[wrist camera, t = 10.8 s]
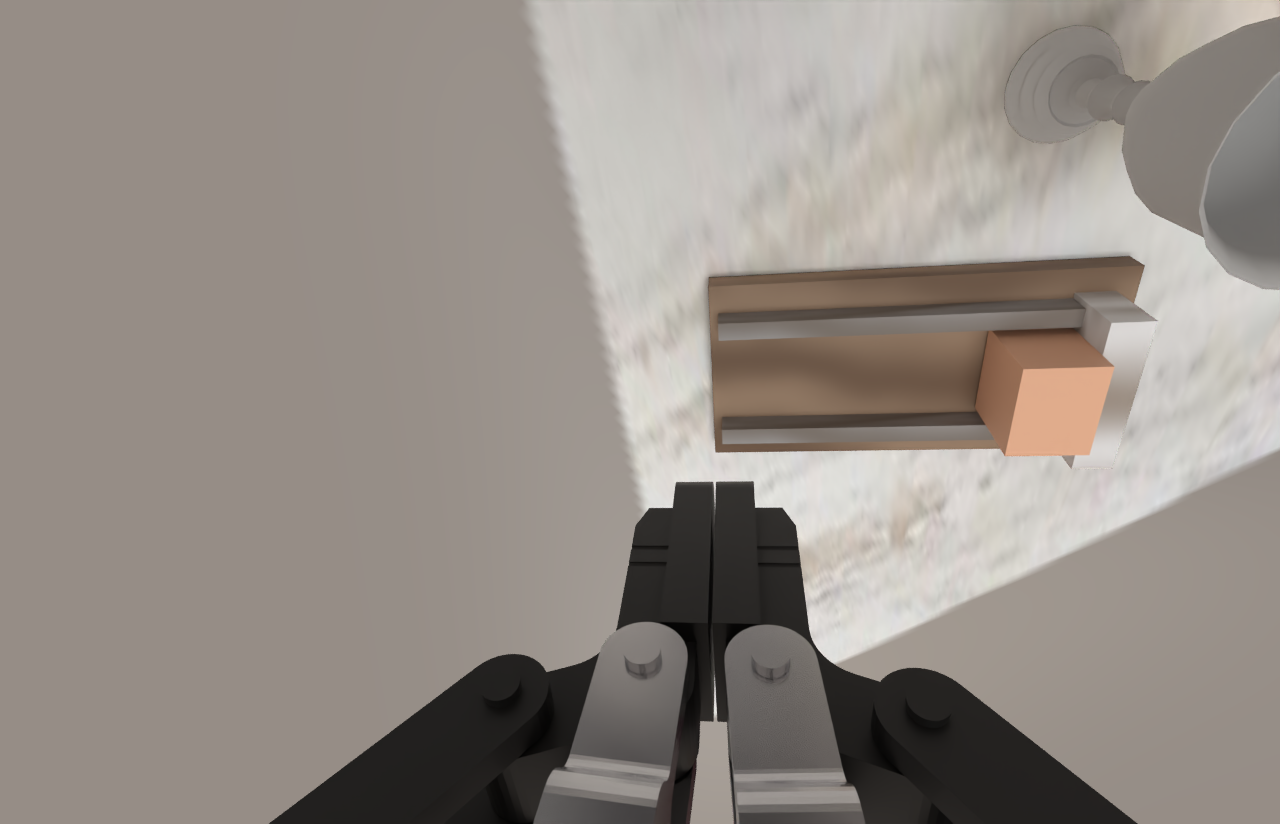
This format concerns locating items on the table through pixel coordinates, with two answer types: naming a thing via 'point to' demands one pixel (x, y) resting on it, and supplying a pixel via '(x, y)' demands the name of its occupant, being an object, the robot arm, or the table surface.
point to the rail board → (906, 351)
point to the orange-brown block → (1042, 391)
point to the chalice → (1175, 131)
